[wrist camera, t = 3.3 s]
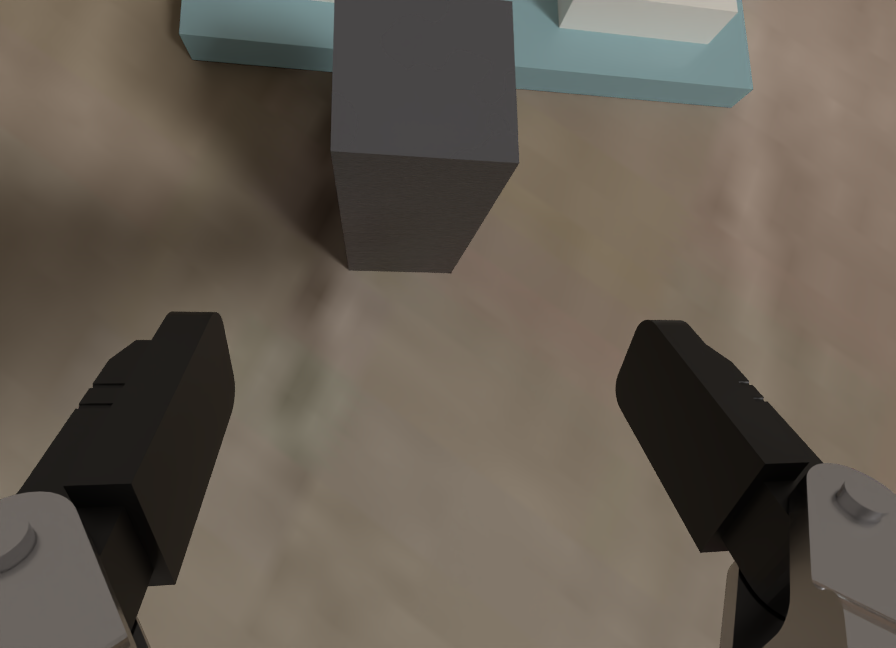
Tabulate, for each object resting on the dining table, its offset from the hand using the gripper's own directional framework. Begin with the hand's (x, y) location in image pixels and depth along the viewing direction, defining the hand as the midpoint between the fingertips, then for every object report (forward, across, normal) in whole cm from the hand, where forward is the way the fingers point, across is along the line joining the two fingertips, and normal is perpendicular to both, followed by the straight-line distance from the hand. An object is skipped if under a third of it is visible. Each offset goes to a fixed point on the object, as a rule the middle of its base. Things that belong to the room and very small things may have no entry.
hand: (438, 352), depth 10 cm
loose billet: (+13, 0, +3) cm, 13 cm away
